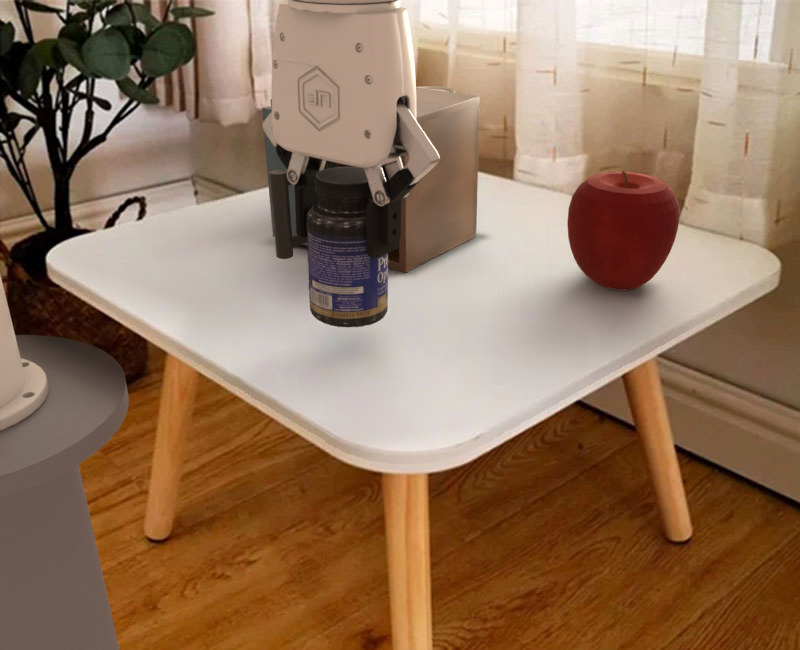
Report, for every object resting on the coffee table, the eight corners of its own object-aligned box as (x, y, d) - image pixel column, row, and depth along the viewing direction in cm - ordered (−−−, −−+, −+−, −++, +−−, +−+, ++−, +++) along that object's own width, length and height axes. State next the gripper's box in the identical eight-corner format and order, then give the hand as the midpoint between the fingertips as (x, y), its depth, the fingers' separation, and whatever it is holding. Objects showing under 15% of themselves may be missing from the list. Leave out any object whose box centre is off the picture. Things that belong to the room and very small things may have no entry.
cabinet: (406, 272, 88) (404, 120, 81) (281, 239, 97) (270, 99, 90) (476, 236, 96) (480, 96, 89) (355, 208, 105) (350, 78, 98)
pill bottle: (394, 327, 72) (396, 185, 66) (315, 333, 71) (310, 189, 65) (379, 295, 77) (379, 161, 72) (304, 301, 76) (299, 165, 70)
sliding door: (291, 271, 87) (280, 131, 81) (231, 253, 91) (216, 119, 85) (338, 250, 92) (331, 116, 85) (278, 234, 96) (267, 106, 90)
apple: (692, 293, 83) (708, 182, 78) (596, 311, 80) (608, 196, 75) (632, 257, 91) (644, 154, 86) (543, 272, 88) (550, 165, 83)
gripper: (211, -23, 64) (230, 231, 73) (415, -1, 55) (409, 285, 64) (287, -30, 69) (296, 207, 78) (485, -11, 60) (470, 254, 69)
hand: (347, 240), depth 71 cm, fingers closed on pill bottle, 6 cm apart
